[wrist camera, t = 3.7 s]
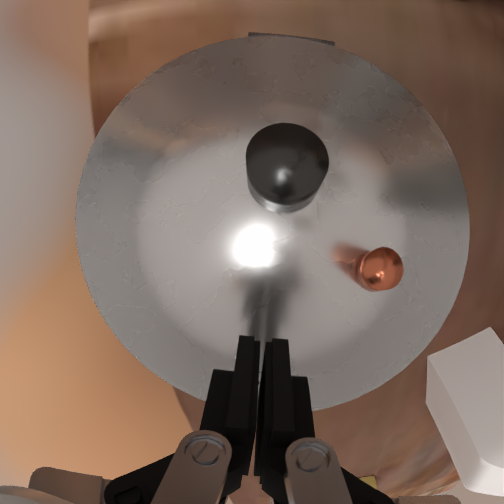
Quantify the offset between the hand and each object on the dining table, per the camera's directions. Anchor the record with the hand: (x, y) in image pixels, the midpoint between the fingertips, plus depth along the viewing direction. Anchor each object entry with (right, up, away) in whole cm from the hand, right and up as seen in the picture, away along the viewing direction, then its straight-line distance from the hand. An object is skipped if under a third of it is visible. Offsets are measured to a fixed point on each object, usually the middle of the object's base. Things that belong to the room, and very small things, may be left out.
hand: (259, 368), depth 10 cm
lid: (+1, +7, +3) cm, 8 cm away
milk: (+32, -14, +26) cm, 44 cm away
